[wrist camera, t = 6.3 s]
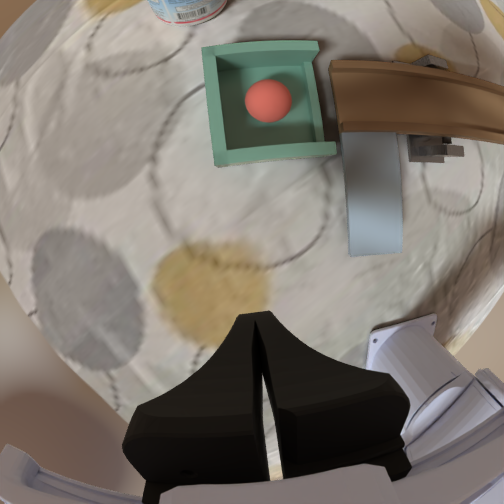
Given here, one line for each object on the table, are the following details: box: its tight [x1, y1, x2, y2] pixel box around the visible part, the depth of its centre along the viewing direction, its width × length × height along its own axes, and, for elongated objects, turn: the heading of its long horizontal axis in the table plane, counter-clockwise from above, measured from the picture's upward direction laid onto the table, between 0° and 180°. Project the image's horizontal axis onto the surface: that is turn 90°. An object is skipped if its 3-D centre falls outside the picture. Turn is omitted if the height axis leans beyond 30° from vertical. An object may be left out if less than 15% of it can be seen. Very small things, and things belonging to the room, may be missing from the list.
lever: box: [328, 60, 504, 257], centre depth 15 cm, size 14×18×3 cm
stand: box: [392, 55, 464, 163], centre depth 16 cm, size 9×4×4 cm, turn 7°
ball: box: [245, 79, 292, 123], centre depth 16 cm, size 3×3×3 cm
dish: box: [202, 40, 337, 168], centre depth 16 cm, size 8×7×3 cm
